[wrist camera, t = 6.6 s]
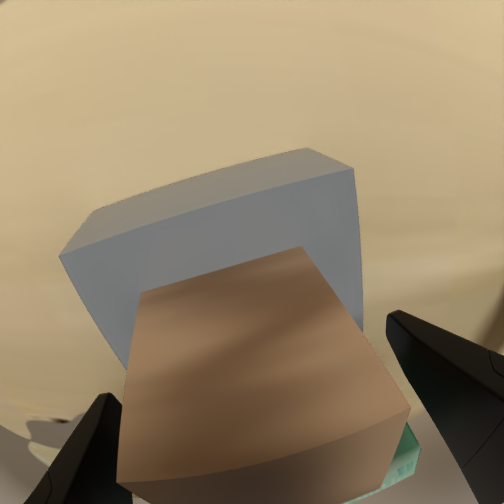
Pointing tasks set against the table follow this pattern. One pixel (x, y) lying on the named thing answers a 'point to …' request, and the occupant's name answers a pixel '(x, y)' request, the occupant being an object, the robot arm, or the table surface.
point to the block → (255, 392)
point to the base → (217, 235)
